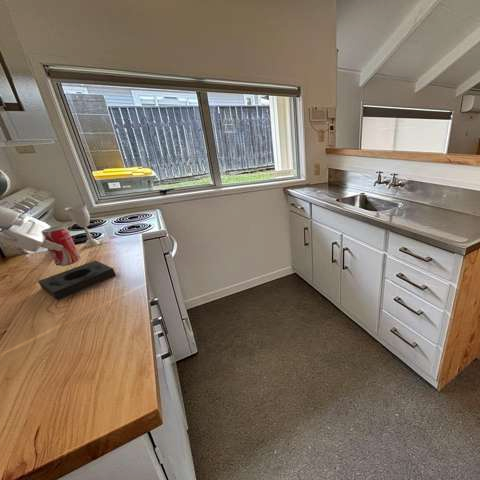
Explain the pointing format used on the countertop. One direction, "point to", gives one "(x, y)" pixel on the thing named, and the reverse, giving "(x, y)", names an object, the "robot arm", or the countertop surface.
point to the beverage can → (69, 249)
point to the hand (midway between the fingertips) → (63, 244)
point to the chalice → (82, 221)
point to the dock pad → (76, 279)
